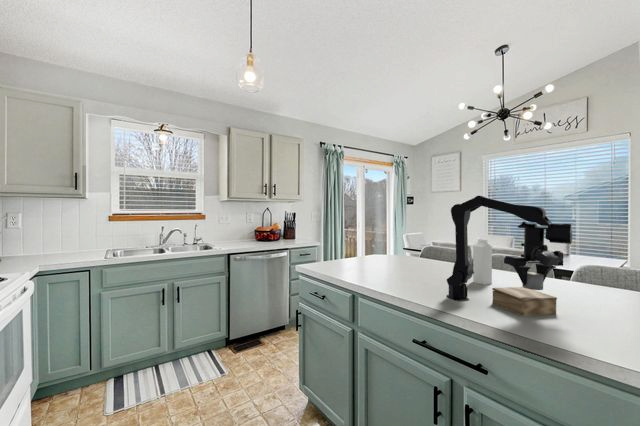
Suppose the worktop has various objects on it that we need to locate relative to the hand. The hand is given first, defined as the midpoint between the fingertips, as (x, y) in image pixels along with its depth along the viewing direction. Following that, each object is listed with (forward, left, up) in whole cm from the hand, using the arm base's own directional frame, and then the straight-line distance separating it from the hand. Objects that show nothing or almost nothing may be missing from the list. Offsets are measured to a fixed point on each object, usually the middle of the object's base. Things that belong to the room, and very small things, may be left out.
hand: (532, 284), depth 105 cm
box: (+2, +6, -11) cm, 12 cm away
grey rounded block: (0, 0, -1) cm, 1 cm away
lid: (+2, +6, -5) cm, 8 cm away
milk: (+13, +43, -11) cm, 46 cm away
